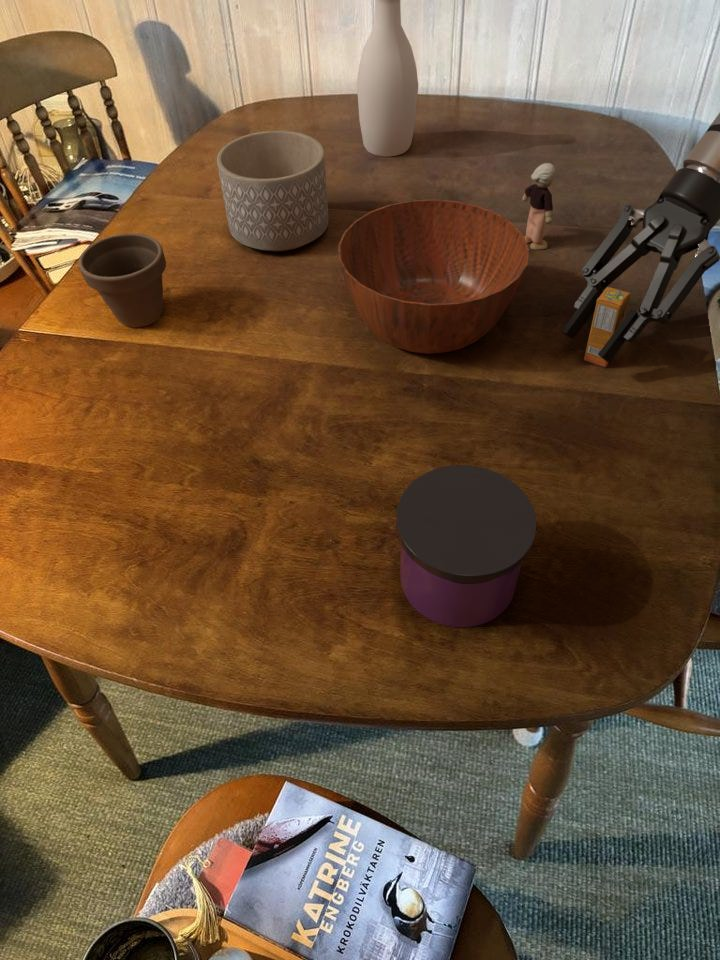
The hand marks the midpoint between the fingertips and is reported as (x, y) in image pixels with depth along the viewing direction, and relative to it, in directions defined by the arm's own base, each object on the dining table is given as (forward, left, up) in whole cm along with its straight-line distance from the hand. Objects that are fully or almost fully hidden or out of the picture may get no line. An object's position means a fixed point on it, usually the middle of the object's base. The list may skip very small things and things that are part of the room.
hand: (585, 346), depth 92 cm
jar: (+5, +37, -4) cm, 37 cm away
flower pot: (+62, +11, -4) cm, 63 cm away
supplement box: (-2, -3, -4) cm, 5 cm away
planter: (+53, -17, -4) cm, 56 cm away
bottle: (+47, -51, -4) cm, 70 cm away
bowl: (+22, -3, -4) cm, 23 cm away
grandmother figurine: (+13, -28, -4) cm, 31 cm away
